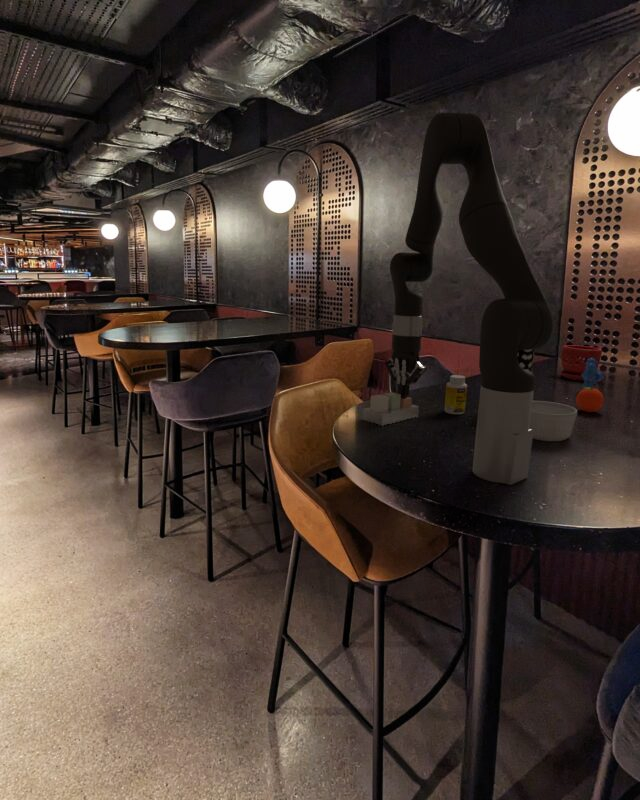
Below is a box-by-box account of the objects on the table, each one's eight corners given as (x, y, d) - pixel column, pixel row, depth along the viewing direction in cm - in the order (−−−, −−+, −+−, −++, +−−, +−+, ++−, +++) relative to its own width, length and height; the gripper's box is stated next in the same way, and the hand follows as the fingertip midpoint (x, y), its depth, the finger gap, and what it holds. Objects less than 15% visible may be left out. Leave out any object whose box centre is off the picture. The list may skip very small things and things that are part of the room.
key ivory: (387, 412, 129) (388, 397, 128) (379, 414, 127) (379, 398, 126) (378, 409, 132) (379, 394, 131) (370, 411, 130) (370, 396, 129)
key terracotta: (410, 412, 135) (411, 398, 134) (403, 414, 133) (403, 399, 132) (401, 410, 138) (402, 395, 137) (393, 411, 136) (394, 397, 135)
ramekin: (502, 429, 126) (505, 402, 124) (544, 424, 130) (547, 398, 129) (542, 446, 114) (546, 416, 112) (586, 440, 118) (590, 412, 117)
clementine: (565, 409, 146) (569, 385, 144) (581, 406, 149) (585, 383, 147) (591, 416, 139) (595, 391, 137) (607, 413, 142) (611, 388, 140)
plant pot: (596, 383, 181) (601, 350, 178) (556, 379, 188) (560, 347, 185) (598, 377, 192) (603, 346, 189) (560, 373, 199) (565, 343, 196)
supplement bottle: (455, 416, 136) (458, 379, 134) (439, 411, 141) (442, 375, 138) (469, 413, 139) (472, 377, 137) (453, 408, 144) (456, 373, 141)
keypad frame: (418, 417, 135) (418, 406, 134) (382, 426, 126) (382, 414, 125) (398, 411, 140) (398, 400, 139) (362, 419, 131) (362, 408, 130)
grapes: (601, 398, 159) (607, 361, 156) (577, 395, 162) (583, 359, 159) (601, 391, 169) (607, 356, 166) (579, 389, 172) (584, 354, 169)
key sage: (399, 409, 132) (400, 394, 131) (391, 411, 130) (392, 396, 129) (390, 406, 135) (391, 392, 134) (382, 408, 133) (383, 393, 132)
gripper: (378, 331, 133) (375, 394, 137) (417, 336, 123) (413, 405, 128) (397, 329, 138) (393, 391, 142) (436, 334, 128) (431, 400, 132)
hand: (402, 397), depth 135 cm, fingers closed
